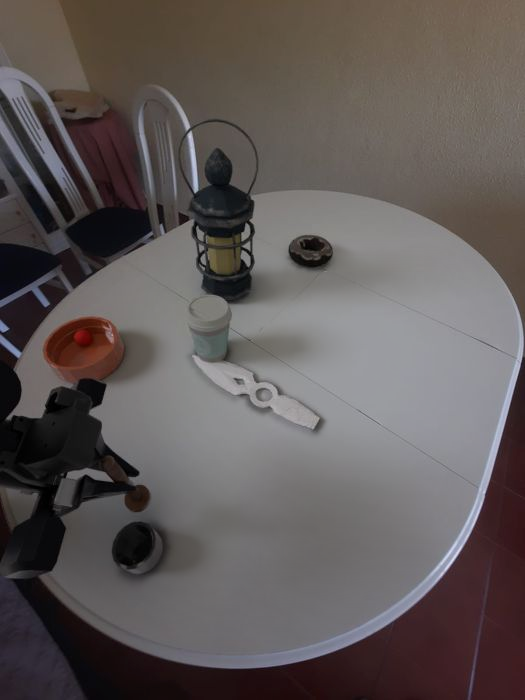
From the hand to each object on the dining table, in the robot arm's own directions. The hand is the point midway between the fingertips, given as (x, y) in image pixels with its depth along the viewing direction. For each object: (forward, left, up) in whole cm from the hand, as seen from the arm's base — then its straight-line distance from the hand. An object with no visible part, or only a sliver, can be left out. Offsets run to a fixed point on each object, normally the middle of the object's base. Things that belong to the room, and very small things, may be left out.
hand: (136, 482), depth 39 cm
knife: (+21, +13, -14) cm, 29 cm away
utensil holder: (-4, -4, -13) cm, 14 cm away
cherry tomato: (-4, +38, -11) cm, 40 cm away
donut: (+54, +43, -14) cm, 71 cm away
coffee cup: (+18, +24, -13) cm, 33 cm away
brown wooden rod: (-1, +1, -7) cm, 7 cm away
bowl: (-4, +34, -13) cm, 37 cm away
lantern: (+29, +41, -14) cm, 53 cm away
